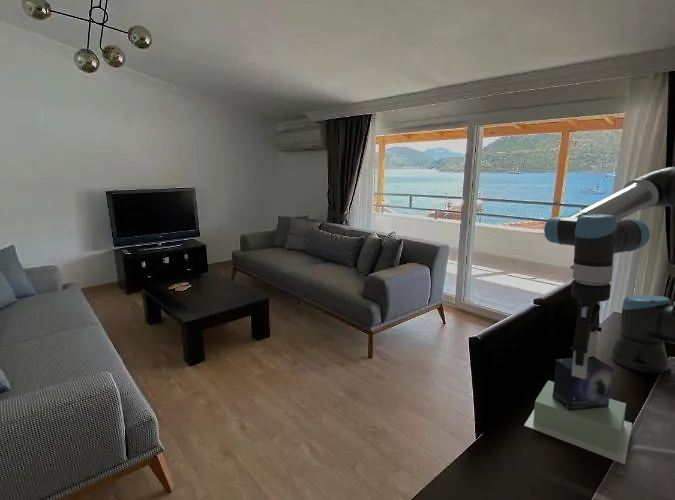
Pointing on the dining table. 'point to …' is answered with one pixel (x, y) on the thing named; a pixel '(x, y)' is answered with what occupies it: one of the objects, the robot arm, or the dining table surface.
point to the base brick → (581, 420)
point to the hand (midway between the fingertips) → (584, 365)
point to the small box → (582, 385)
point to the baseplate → (617, 457)
